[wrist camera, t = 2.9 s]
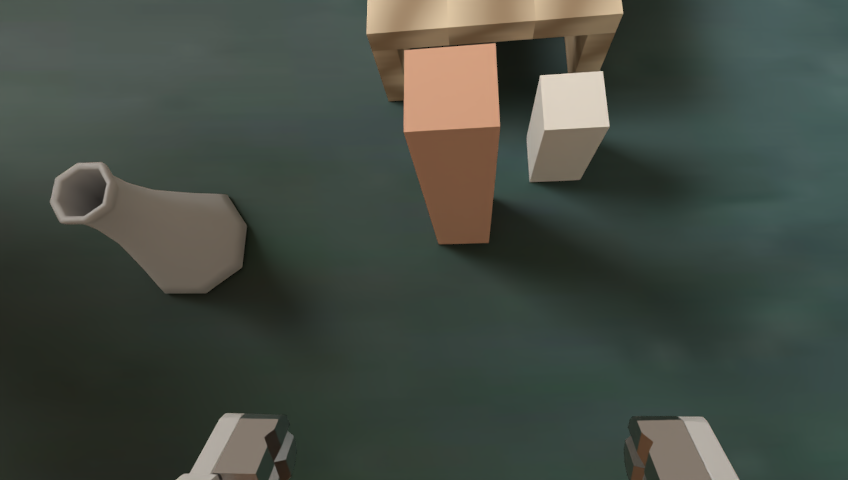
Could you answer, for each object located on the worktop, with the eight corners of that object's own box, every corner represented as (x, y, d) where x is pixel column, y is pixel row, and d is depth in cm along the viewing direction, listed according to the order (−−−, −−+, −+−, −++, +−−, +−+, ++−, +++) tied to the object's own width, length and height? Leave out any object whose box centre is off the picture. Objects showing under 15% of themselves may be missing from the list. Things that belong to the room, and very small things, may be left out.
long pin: (438, 244, 30) (403, 132, 16) (438, 197, 31) (404, 50, 17) (488, 242, 30) (500, 126, 15) (486, 195, 31) (495, 43, 16)
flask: (142, 213, 33) (6, 151, 24) (238, 180, 33) (140, 104, 23) (157, 311, 31) (14, 286, 21) (259, 276, 31) (161, 236, 21)
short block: (529, 182, 31) (544, 130, 24) (526, 137, 31) (540, 75, 25) (580, 179, 30) (609, 126, 24) (575, 135, 31) (602, 71, 24)
